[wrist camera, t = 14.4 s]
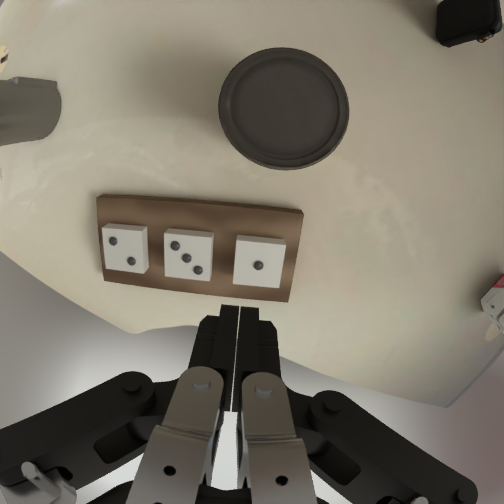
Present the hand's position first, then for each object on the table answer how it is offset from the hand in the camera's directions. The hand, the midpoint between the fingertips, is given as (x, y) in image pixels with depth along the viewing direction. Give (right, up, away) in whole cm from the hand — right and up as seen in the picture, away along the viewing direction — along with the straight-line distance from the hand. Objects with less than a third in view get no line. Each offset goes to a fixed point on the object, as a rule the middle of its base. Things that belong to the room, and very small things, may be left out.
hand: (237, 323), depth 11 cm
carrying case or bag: (+29, +37, +13) cm, 49 cm away
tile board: (-8, +4, +28) cm, 29 cm away
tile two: (-16, +4, +25) cm, 30 cm away
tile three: (-8, +3, +26) cm, 27 cm away
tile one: (+1, +2, +26) cm, 26 cm away
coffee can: (+3, +20, +21) cm, 29 cm away
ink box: (+52, -6, +31) cm, 61 cm away
